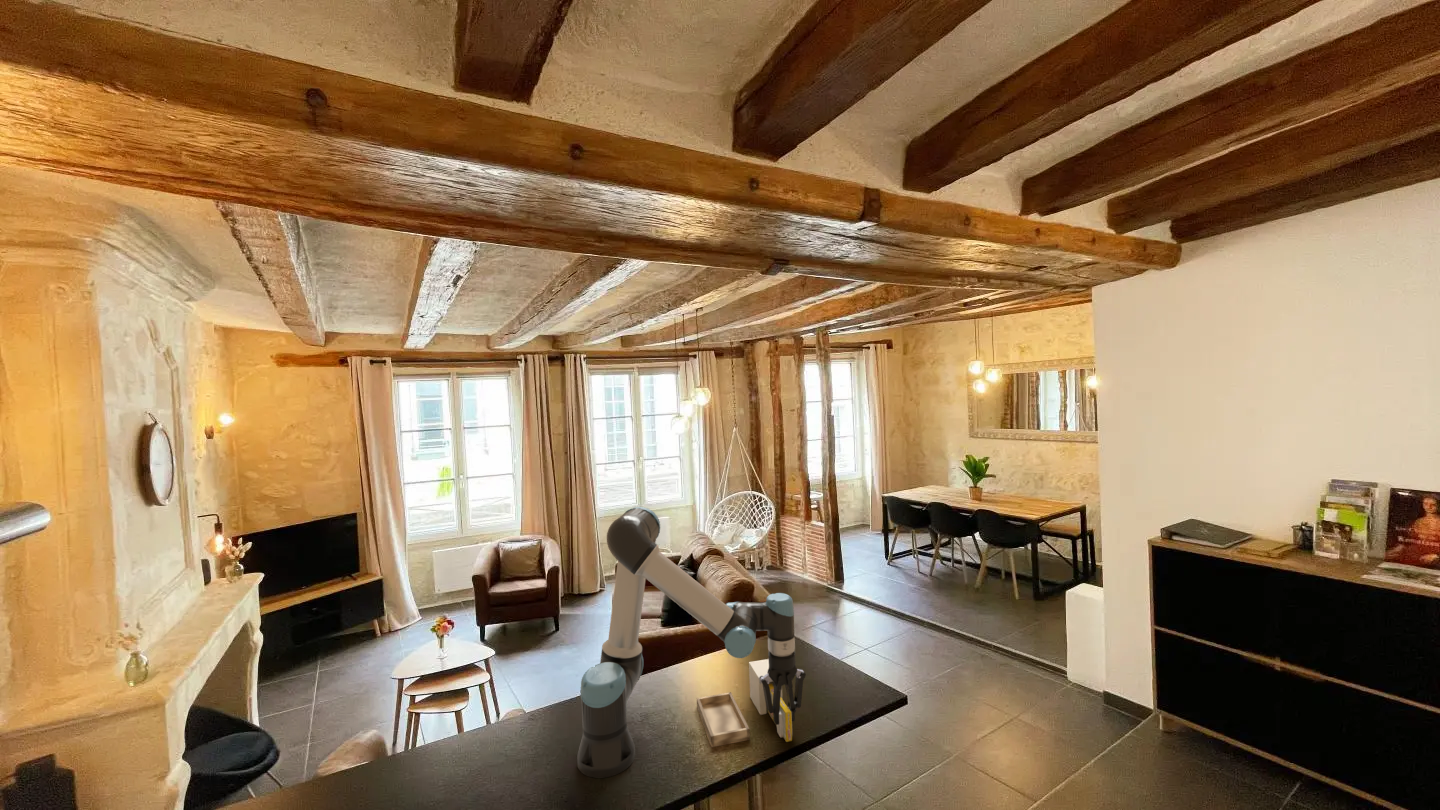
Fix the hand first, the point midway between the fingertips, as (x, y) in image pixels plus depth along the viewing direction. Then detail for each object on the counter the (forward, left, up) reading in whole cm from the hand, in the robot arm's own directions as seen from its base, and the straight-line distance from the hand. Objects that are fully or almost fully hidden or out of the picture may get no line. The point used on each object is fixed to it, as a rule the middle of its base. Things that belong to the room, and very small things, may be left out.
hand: (784, 733), depth 157 cm
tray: (-16, +11, 0) cm, 19 cm away
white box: (0, +16, 0) cm, 16 cm away
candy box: (0, +4, 0) cm, 4 cm away
